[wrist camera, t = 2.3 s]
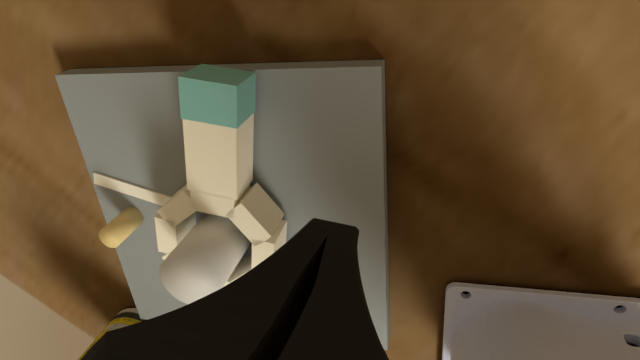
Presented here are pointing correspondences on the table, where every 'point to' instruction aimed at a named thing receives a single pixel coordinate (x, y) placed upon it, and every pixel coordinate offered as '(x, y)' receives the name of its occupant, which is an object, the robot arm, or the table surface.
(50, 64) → the table surface
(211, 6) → the table surface
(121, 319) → the supplement bottle
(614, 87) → the table surface
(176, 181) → the post board
